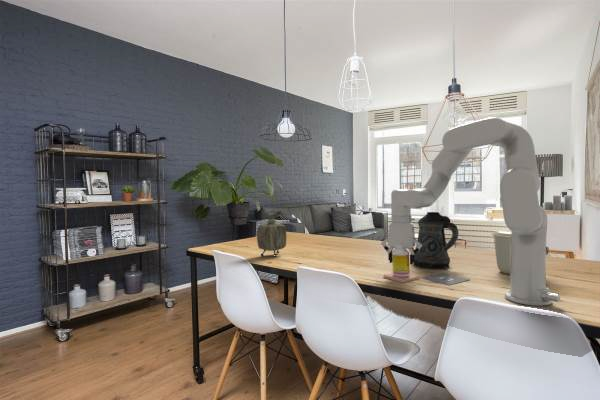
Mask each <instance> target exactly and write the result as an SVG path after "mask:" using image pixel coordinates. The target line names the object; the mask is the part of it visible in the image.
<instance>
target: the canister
mask: <svg viewBox="0 0 600 400" xmlns="http://www.w3.org/2000/svg"><path fill="white" fill-rule="evenodd" d="M511 233H512V231H511V230H510V229H509V228H508V229H505V228H503V229H498V230H495V231H494V232H491V235H492V236H493V242H494V244H493V245H494V251H495V252H494V253H495V259H496V265H497V268H498V270H499V271H500V272H501V273H503V274H507V275H510V271H511Z"/></svg>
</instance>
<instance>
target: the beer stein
mask: <svg viewBox="0 0 600 400" xmlns="http://www.w3.org/2000/svg"><path fill="white" fill-rule="evenodd" d="M417 224H418V227H419V229H418V234H417V235H418V236H417V241H419V242H420V243H421V244H422V245H423V246H422V247H421V248H420V249H419V250H418V251H417V252H416V253H415V262H413V264H412V265H414V266H415V267H417V268H421V269H428V270H445V269H448V268H449V267H450V263H451V259H450V256H449V252H448V250H449V249H451V248H452V247H453V246H454V245H455V243H456V242H457V240H458V237H459V229H458V226H457V224H455V223H454V222H451V219H450V218H449V217H448V216H447V215H442V214H440V212H437V211H428V212H426V214H425V215H424V216H422V217H421V218H420V219H419V220H418V222H417ZM445 229H448V230H450V231H451V233H452V235H451V238H450V240H449V241H448V242H447V241H446V235H445V233H446V232H445ZM417 247H418V245H417V244H416V245H415V249H416V248H417Z"/></svg>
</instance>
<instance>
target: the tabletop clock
mask: <svg viewBox="0 0 600 400" xmlns="http://www.w3.org/2000/svg"><path fill="white" fill-rule="evenodd" d="M269 213H275V216H273V215H271V216H268V214H269ZM277 217H278V213H277V212H276V211H275V210H269V211H267V212H266V218H268V221H267V223H261V224H259V225H258V228H257V231H256V240H257V241H256V242H257V246H258V249H260V250H263V251H262V253H260V256H261V257H264V254H265V253H266V252H268V251H269V252H273V256H274V255H276V256H277V253H279V254H280V251H279V250H283V249H284V248H286V246H287V229H286V226H285V224H283V223H282V224H281V223H277V220H276V219H275V218H277Z"/></svg>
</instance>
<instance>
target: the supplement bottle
mask: <svg viewBox="0 0 600 400" xmlns="http://www.w3.org/2000/svg"><path fill="white" fill-rule="evenodd" d="M391 265H392V273H393V275H394V276H397V277H407V276H409V275H410V274H411V272H410V251H409V250H408V249H407V248H403V247H402V245H396V248H394V249H393V250H392V263H391Z"/></svg>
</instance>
